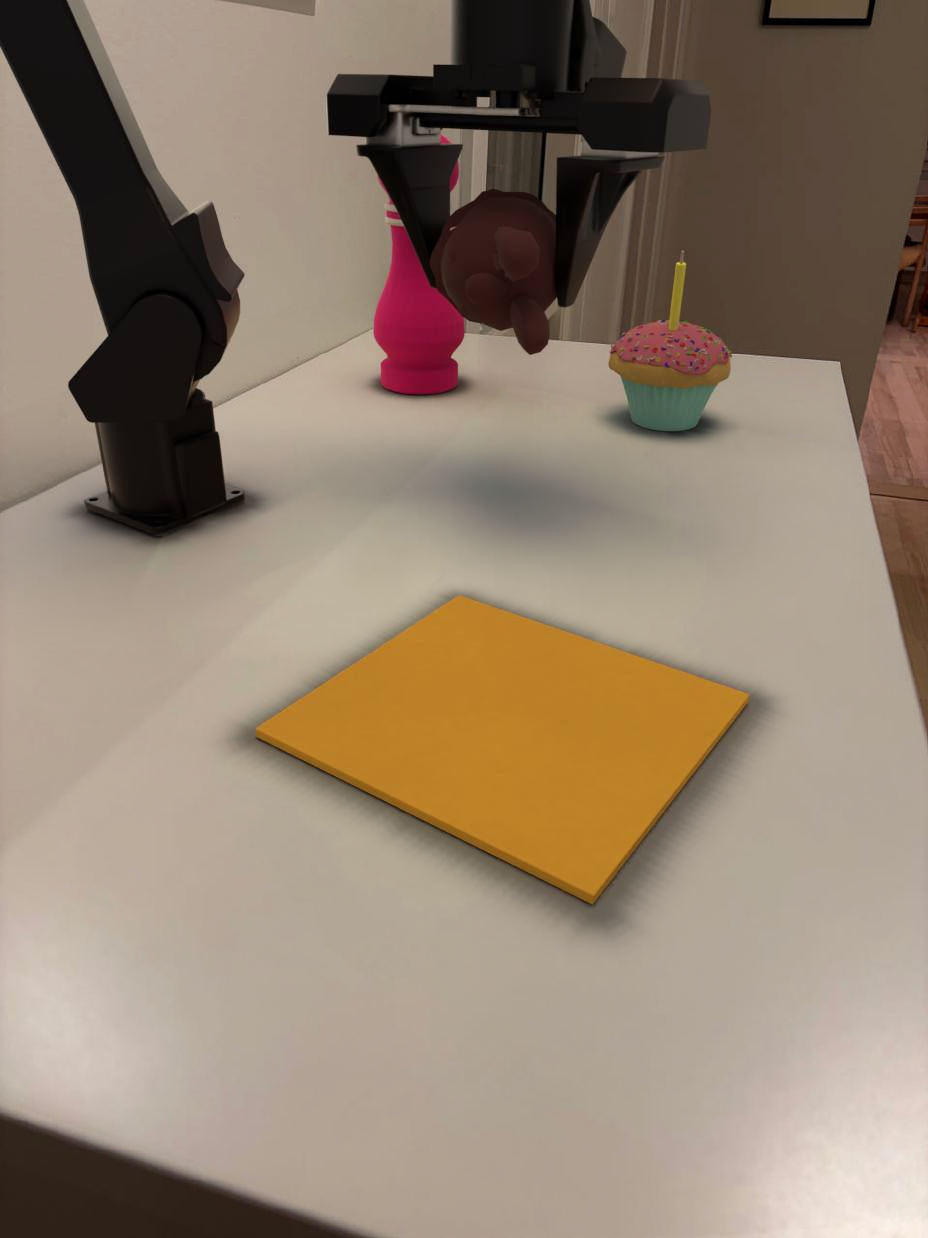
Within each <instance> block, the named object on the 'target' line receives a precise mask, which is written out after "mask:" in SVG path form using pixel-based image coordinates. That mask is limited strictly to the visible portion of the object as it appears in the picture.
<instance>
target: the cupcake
mask: <svg viewBox="0 0 928 1238" xmlns="http://www.w3.org/2000/svg"><path fill="white" fill-rule="evenodd" d="M684 256H685V251H684V250H681V251H680V258H679V261H678V262H676V263H675V270H674V278H673V287H672V295H671V304H670V310H669V311H670V313H669V318H668V319H662V320H661V319H658V320H657V321H656V320H652V321H650V322H648V323H644V324H640V325H636V326H633V328H631V329H630V330H628V331H626V332H622V334H621V336H620V337H619V338H618V339H617V341H616V342H615V343H614V344H611V345H610V350H609V354H610V355H609V359H608V364H607V365H608V368H609V370H611V371H613V372H614V373H616V374H617V375H619V376H620V379H621V383H622V386H623V389H624V392H625V395H626V399H627V405H628V409H629V414H630V419H631V421H632V422H633V423H634V424H635V425H637V426H639V427H641V428H645V429H649V430H651V431H659V432H682V431H683V432H684V431H687V430H692V429H693V428H695V427H696V426H697V425H698V423H699V421H700V418H701V416H702V414H703V412H704V409H705V408H706V406H707V404H708V402H709V400H710V398H711V397H712V394H713V393H714V391H715V389H716V388H717V387H718V385H719V384H720V383H721V382H723V381H724V382H725V380H727V379H728V378H729V377H730V374H731V368H732V367H731V359H732V358H733V356H732V355H733V352H732V350H730V349H729V347H728V345H727V344H726V343H724V341H723V340H722V338H721V337H720V336H719V335H718V334H715V333H714V332H713V331H712V330H710V329H709V330H708V329H707V328H704V327H703V326H701V325H697V324H695V323H693V322H689V321H687V320H683V321H681V320H680V317H681V309H682V302H683V301H682V300H683V293H684V286H685V277H686V269H687V263H686V262H685V261H684V258H685V257H684Z"/></svg>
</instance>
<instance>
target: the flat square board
mask: <svg viewBox="0 0 928 1238" xmlns="http://www.w3.org/2000/svg"><path fill="white" fill-rule="evenodd" d="M749 700H750V694H749V693H747V692H744V691H741V690H738V689H736V688H732V687H729V686H726V685H725V684H724V685H723V684H721V683H717V682H714V681H712V680H708V679H706V678H703V677H700V676H697V675H694V674H692V673H689V672H685V671H683V670H680V669H677V668H674V667H671V666H668V665H665V664H662V663H659V662H656V661H653V660H651V659H647V658H645V657H641V656H639V655H636V654H633V653H631V652H627V651H624V650H621V649H618V648H615V647H612V646H609V645H606V644H604V643H600V642H598V641H595V640H592V639H589V638H587V637H583V636H580V635H578V634H575V633H571V632H569V631H565V630H563V629H560V628H557V627H554V626H551V625H548V624H545V623H542V622H540V621H536V620H534V619H530V618H528V617H524V616H522V615H518V614H517V613H513V612H510V611H507V610H505V609H501V608H500V607H499V608H498V607H495V606H493V605H490V604H487V603H484V602H481V601H478V600H475V599H472V598H470V597H466V596H463V595H460V594H457V596H455V597H454V598H452V599H450V600H449V601H447V602H446V603H444V604H443V605H441V606H439V607H438V608H436V609H435V610H433V611H432V612H431V613H429V614H428V615H425V617H423V618H422V619H420V620H418V621H416V622H415V623H413V624H412V625H411V626H409V627H408V628H406V629H405V630H403V631H401V632H400V633H398V634H397V635H395V636H394V637H392V638H391V639H390V640H388V641H385V643H383V644H381V645H380V646H378V647H377V648H376V649H374V650H373V651H371V652H370V653H368V654H367V655H365V656H363V657H362V658H361V659H359V660H357V661H356V662H354V663H352V664H351V665H350V666H348V667H346V668H345V669H343V670H342V671H340V672H339V673H337V674H336V675H335V676H333V677H331V678H330V679H328V680H327V681H325V682H324V683H322V684H321V685H319V686H318V687H316V688H314V689H313V690H311V691H310V692H309V693H307V694H305V695H304V696H303V697H301V698H300V699H298V700H296V701H295V702H293V703H292V704H290V705H289V706H287V707H286V708H284V709H283V710H281V711H280V712H278V713H277V714H275V715H274V716H272V717H270V718H269V719H268V720H266V721H265V722H263V723H261V724H259V725H258V726H256V727H255V729H254V730H255V731H254V732H255V737H256V738H258V739H260V740H261V741H263V742H266V743H268V744H270V745H271V746H273V747H276V748H278V749H280V750H282V751H284V752H286V753H288V754H289V755H292V756H294V757H296V758H298V759H300V760H302V761H304V762H305V763H307V764H310V765H312V766H314V767H316V768H318V769H320V770H322V771H324V772H326V773H328V774H330V775H332V776H334V777H335V778H338V779H340V780H342V781H343V782H346V783H347V784H350V785H351V786H354V787H356V788H358V789H360V790H362V791H364V792H366V793H368V794H370V795H372V796H374V797H376V798H378V799H380V800H382V801H384V802H386V803H388V804H390V805H392V806H394V807H396V808H398V809H400V810H402V811H404V812H406V813H407V814H410V815H412V816H414V817H416V818H417V819H420V820H422V821H424V822H426V823H428V824H430V825H432V826H434V827H436V828H438V829H440V830H441V831H444V832H446V833H447V834H449V835H452V836H454V837H456V838H458V839H460V840H462V841H464V842H466V843H468V844H470V845H472V846H474V847H476V848H478V849H480V850H482V851H485V852H486V853H488V854H490V855H491V856H494V857H496V858H498V859H500V860H502V861H504V862H507V863H508V864H510V865H512V866H515V867H516V868H518V869H520V870H522V871H524V872H526V873H528V874H529V875H532V876H533V877H536V878H538V879H540V880H542V881H544V882H546V883H548V884H550V885H552V886H554V887H557V888H558V889H561V890H562V891H564V892H566V893H568V894H570V895H573V896H574V897H576V898H578V899H581V900H582V901H584V902H586V903H589V904H590V905H594V904H595V902H596V901H597V900H598V898H599V897H600V896H601V895H602V893H603V892H604V891H605V890H606V888H607V887H608V886H609V884H610V883H611V881H612V880H613V879H614V877H616V875H618V872H619V871H620V870H621V869H622V867H623V866H624V865H625V863H626V862H627V860H628V859H630V857H631V856H632V854H633V853H634V851H635V850H636V849H637V848H638V846H639V845H640V843H642V841H643V840H644V839H645V837H646V836H647V835H648V833H650V831H651V829H652V828H653V827H654V826H655V824H656V823H657V822H658V821H659V819H660V818H661V817H662V815H663V814H664V812H665V811H666V810H667V808H668V807H669V806H670V805H671V803H672V802H673V801H674V800H675V798H676V797H677V796H678V795H679V793H680V792H681V791H682V789H683V788H684V786H685V785H686V784H687V783H688V782H689V780H690V779H691V777H692V776H693V775H694V773H696V771H697V770H698V768H699V767H700V766H701V764H702V763H703V762H704V761H705V760H706V758H707V757H708V755H709V754H710V752H712V750H713V749H714V747H715V746H716V745H717V744H718V742H719V741H720V740H721V738H722V737H723V736H724V734H725V733H726V732H727V730H728V729H729V728H730V726H732V724H733V723H734V721H735V720H736V719H737V718H738V716H739V715H740V713H741V712H742V711H743V710H744V708H745V707H746V706H747V704H748V703H749Z"/></svg>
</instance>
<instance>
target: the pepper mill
mask: <svg viewBox="0 0 928 1238" xmlns="http://www.w3.org/2000/svg"><path fill="white" fill-rule="evenodd" d="M441 143H449V144H452V142H451V141H450V140H449V139H448V138H447V137H445V136H444V135H443V134H441ZM376 176H377V180H378V183H379V184H380V187H381V188H382V189H383V190H384V192H385V193H386V196H387V197H388V199H389V201H387V202H386V203H385V204H384V210H386V212H385V214H386V215H385V217H384V222H385V223H386V224H388V225H390V233H391V234H390V235H391V261H390V266H389V272H388V276H387V279H386V281H385V283H384V287H383V289H382V291H381V294H380V297H379V299H378V301H377V305H376V308H375V313H374V317H373V329H372V330H373V338H374V340H375V341H376V344H377V346H378V347H380V349H381V350H382V351H383V352H384V353H385V355H386V356H387V357H385V358H384V359H382V361H381V362H380V384H381V386H382V387H383V388H384V389H386V390H389V391H391V392H395V393H399V394H405V395H435V394H441V393H446V392H448V391H451V390H453V389H454V388H456V387H457V386H458V384H459V363H458V362H457V360H456V359H455V358H452V356H453V355H454V353H455V352H456V351H457V349H458V348H459V347H460V346H461V345H462V343H463V341H464V338H465V335H466V331H465V330H466V329H465V318H464V317H463V316H461V314H460V313H459V312H458V311H457V310H456V309H455V308H454V306H453V305H452V304H451V303H450V302H449V301H448V300H447V299H446V298H445V297H444V296H443V295H441V294H440V293H439V292H438V290H437V289H434V288H431V286H430V284H429V282H428V280H427V278H426V275H425V273H424V271H423V268H422V266H421V264H420V262H419V259H418V257H417V255H416V252H415V250H414V248H413V246H412V243H411V241H410V239H409V236H408V234H407V232H406V230H405V227H404V225H403V223H402V221H401V218H400V216H399V214H398V212H397V210H396V208H395V206H394V204H393V202H392V200H391V199H390V197H389V195H388V193H387V191H386V189H385V187H384V186H383V184H382V182H381V180H380V178H379V176H378V175H376ZM459 176H460V163H459V160H458V161H457V163H456V166H455V168H454V171H453V173H452V176H451V181H450V194H451V193H452V192H453V190H454V189H455V188H456V185H457V184H458V181H459ZM451 210H453V206H452V204H451V203H450V211H451Z"/></svg>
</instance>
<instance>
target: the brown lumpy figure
mask: <svg viewBox="0 0 928 1238" xmlns="http://www.w3.org/2000/svg"><path fill="white" fill-rule="evenodd" d="M555 247H556V213H555V212H553V210H551V209H549V208H548V207H547V205H546V204H545V203H544V201H543V200H541V199H540V198H539V197H537V196H536V195H535V194H532V193H530V192H526V191H503V190H499V189H495V188H491V189H488V190H483V191H481V192H480V193H479V194H478V195H477V196H476V197H475V199H473V200H471V201H470V202H468V203H466V204H464V205H463V206H461V207H459V208H457V209H455V210H454V211H453V212H452V213H451V214H450V217H449V218H448V219H447V221H446V223H445V225H444V227H443V230H442V233H441V236H440V238H439V240H438V242H437V244H436V246H435V248H434V250H433V252H432V254H431V258H430V267H431V270H432V272H433V274H434V276H435V278H436V288H437V290H438V292H439V293H440V294H441V295H443V296H444V297H445V298H446V299H447V300H448V301H449V302H450V303H451V304H452V305H453V306H454V308H455V309H456V310H457V311H458V312H459V313H460V314H461V316H463V317H464V319H466V320H467V321H468V322H471V323H476V324H482V325H484V326H487V327H489V328H492V329H494V330H497V331H499V332H502V331H505V330H511V329H513V332H514V334H515V338H516V341H517V343H518V345H519V346H520V347H521V348H522V349H523V351H524V352H525V353H526V354H528V355H529V356H530V355H531V356H532V355H536V354H539V353H541V352H542V351H543V350H544V349H546V348H547V346H548V345H549V340H550V334H551V331H550V320H549V319H548V316H547V315H546V313H545V312H546V311H547V310H548V309H549V307H550V306H551V305H552V304H553V303H554V302H555V301H556V300H557V292H556V282H555Z"/></svg>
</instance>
